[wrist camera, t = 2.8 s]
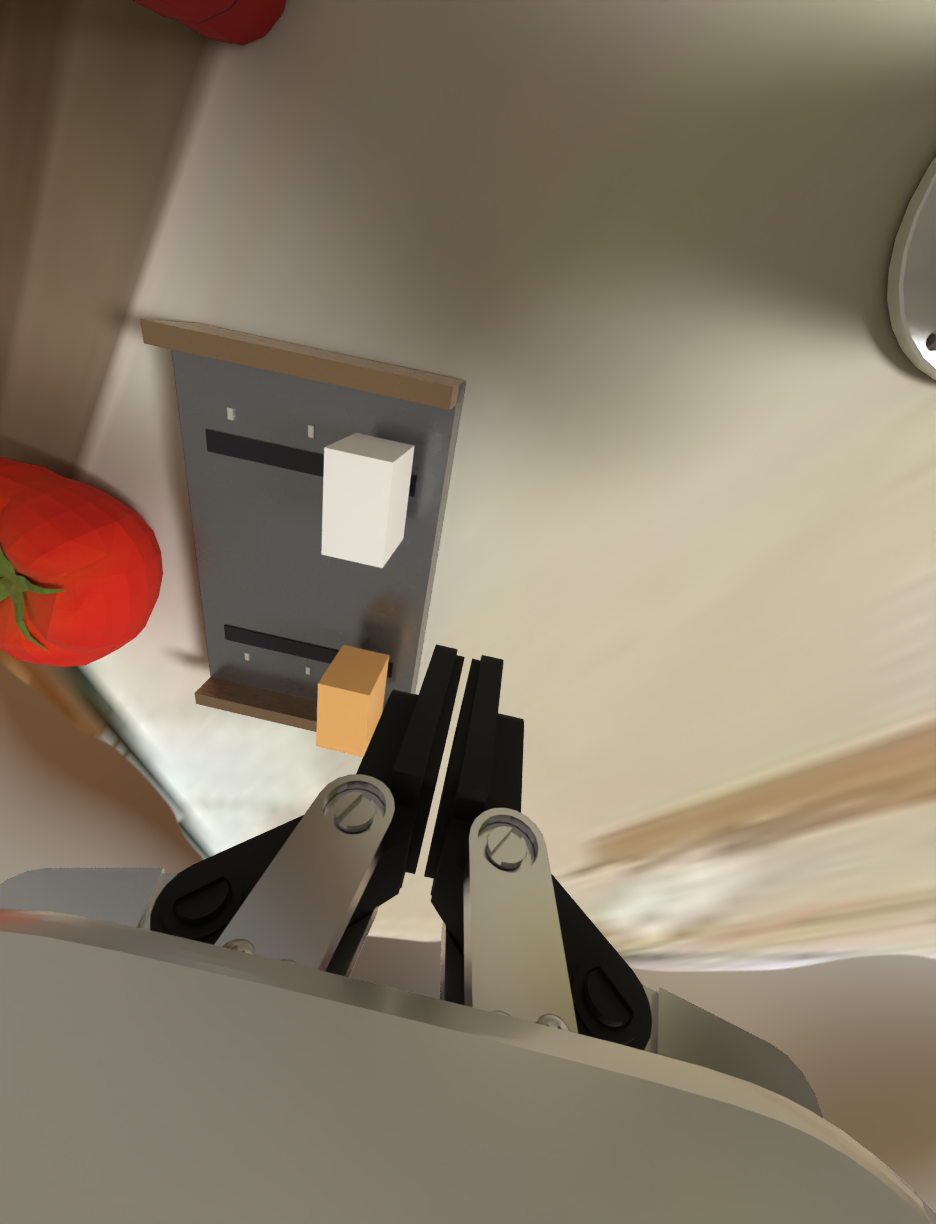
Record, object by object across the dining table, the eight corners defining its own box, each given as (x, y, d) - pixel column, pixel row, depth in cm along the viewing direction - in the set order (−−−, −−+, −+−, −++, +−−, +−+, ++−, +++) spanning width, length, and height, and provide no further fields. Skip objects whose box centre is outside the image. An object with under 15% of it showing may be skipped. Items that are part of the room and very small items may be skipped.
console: (466, 380, 26) (453, 386, 22) (412, 710, 38) (398, 751, 34) (199, 323, 26) (140, 318, 22) (230, 667, 38) (196, 703, 34)
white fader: (420, 440, 25) (393, 462, 20) (409, 530, 27) (382, 568, 22) (364, 428, 25) (324, 447, 20) (358, 518, 27) (321, 554, 23)
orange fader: (394, 643, 31) (369, 695, 26) (387, 700, 34) (363, 757, 29) (350, 633, 31) (317, 683, 27) (347, 690, 34) (316, 746, 29)
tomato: (233, 606, 35) (148, 679, 27) (103, 635, 38) (-6, 707, 30) (121, 413, 29) (-27, 436, 21) (-22, 465, 32) (-197, 502, 24)
